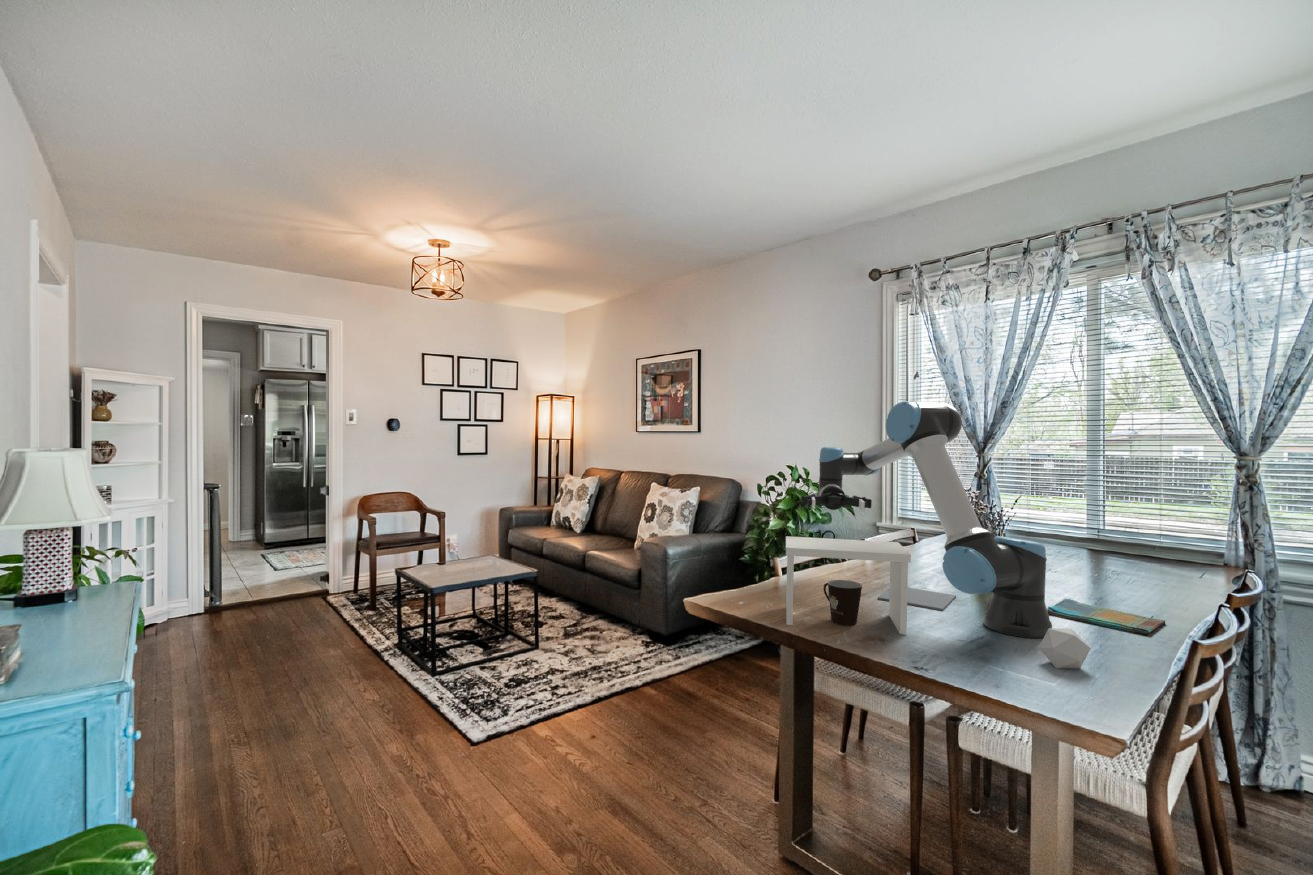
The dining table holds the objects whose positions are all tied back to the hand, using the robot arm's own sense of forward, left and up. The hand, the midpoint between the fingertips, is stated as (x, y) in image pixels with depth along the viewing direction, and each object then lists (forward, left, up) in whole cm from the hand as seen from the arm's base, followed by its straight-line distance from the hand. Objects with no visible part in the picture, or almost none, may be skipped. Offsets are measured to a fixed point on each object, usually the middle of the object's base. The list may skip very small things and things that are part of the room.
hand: (838, 505), depth 174 cm
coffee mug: (-13, +7, -29) cm, 32 cm away
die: (-53, -21, -29) cm, 64 cm away
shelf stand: (-13, +7, -29) cm, 32 cm away
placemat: (-1, -28, -29) cm, 40 cm away
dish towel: (-31, -64, -29) cm, 77 cm away
